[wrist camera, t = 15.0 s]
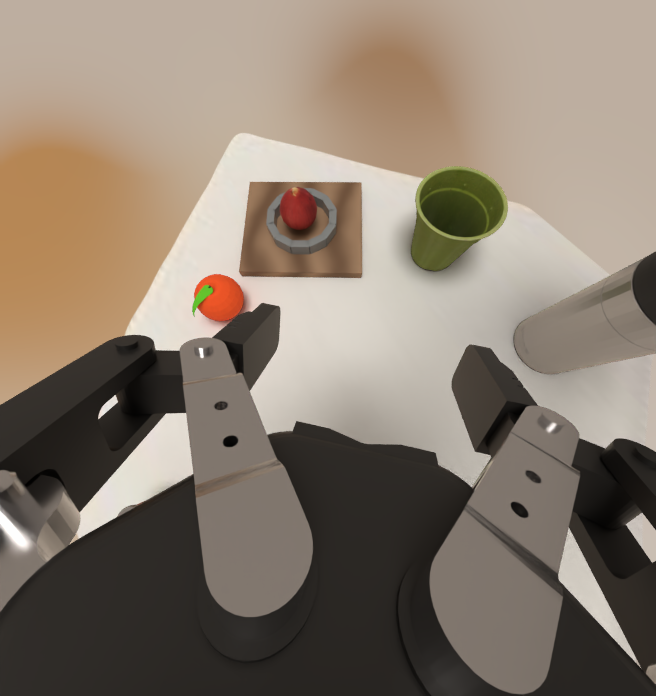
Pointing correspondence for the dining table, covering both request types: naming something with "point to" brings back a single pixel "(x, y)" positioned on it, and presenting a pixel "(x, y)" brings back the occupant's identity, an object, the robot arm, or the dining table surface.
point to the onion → (298, 208)
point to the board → (303, 234)
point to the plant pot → (454, 214)
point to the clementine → (218, 297)
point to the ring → (303, 245)
